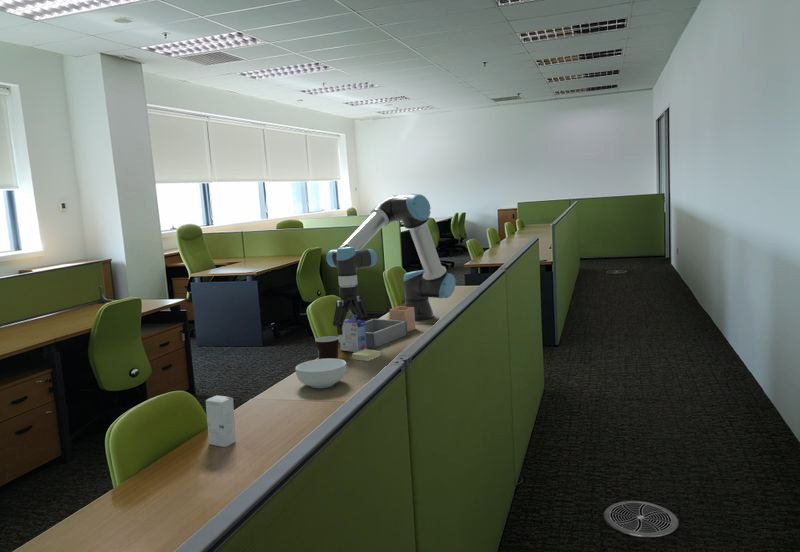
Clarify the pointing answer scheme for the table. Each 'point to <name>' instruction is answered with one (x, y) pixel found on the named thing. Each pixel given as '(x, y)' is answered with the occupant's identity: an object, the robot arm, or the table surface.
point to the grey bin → (384, 331)
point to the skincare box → (220, 421)
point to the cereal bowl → (321, 372)
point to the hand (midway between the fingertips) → (352, 339)
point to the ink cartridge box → (354, 335)
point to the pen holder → (404, 316)
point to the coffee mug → (327, 347)
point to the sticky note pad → (366, 354)
